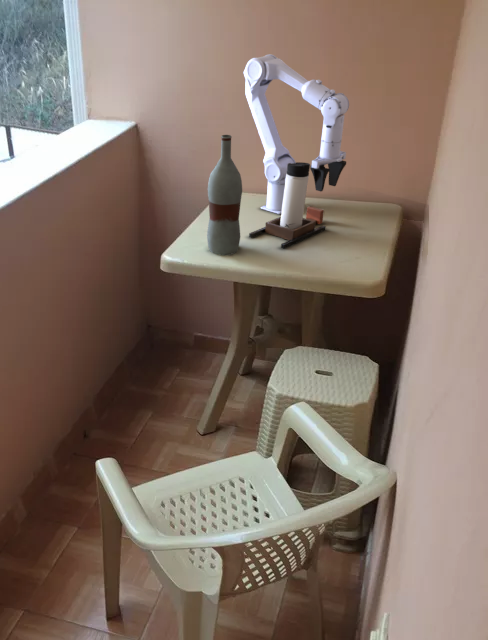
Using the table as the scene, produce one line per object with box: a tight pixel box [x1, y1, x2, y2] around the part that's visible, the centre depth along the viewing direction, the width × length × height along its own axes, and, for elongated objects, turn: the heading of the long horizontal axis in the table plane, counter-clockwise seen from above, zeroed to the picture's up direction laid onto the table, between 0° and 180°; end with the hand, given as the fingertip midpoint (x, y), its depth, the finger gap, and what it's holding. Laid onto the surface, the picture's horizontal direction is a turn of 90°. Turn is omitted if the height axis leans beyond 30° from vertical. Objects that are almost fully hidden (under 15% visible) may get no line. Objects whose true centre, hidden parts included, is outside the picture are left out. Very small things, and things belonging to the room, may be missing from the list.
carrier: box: [264, 205, 325, 241], centre depth 193 cm, size 18×10×4 cm, turn 136°
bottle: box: [206, 134, 243, 256], centre depth 173 cm, size 9×9×30 cm
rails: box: [248, 225, 327, 249], centre depth 191 cm, size 20×13×1 cm, turn 136°
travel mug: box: [280, 161, 311, 230], centre depth 186 cm, size 6×7×20 cm
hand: (325, 188), depth 196 cm, fingers open, 6 cm apart
